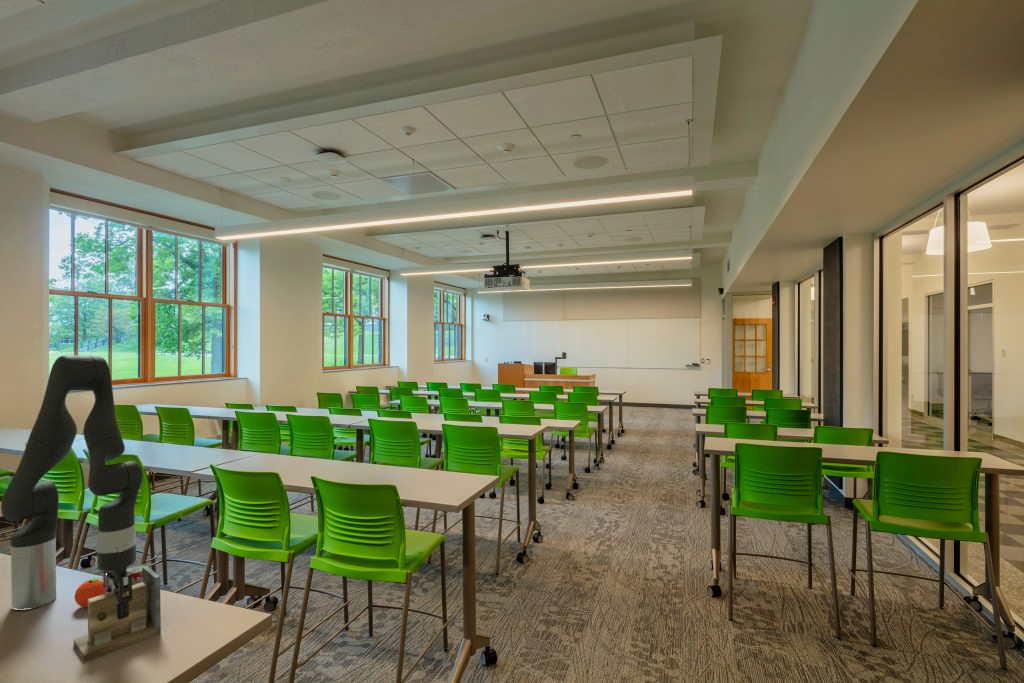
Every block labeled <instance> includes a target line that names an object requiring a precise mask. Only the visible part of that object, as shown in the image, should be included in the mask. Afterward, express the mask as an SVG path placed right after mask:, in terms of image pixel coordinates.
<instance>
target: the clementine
mask: <svg viewBox="0 0 1024 683" xmlns="http://www.w3.org/2000/svg"><path fill="white" fill-rule="evenodd" d="M100 579H101V580H100ZM105 588H106V587H105ZM105 588H104V586H103V577H94V578H91V579H88V580H86V581H84V582H83V583H81V584H79V586H78V587H77V589H76V590H75V593H74V601H75V603H76V604H77V605H79V607H81V608H88V599H90V598H93V597H96V596H100V595H103V594H106V593H107V592H106V591H105Z"/></svg>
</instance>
